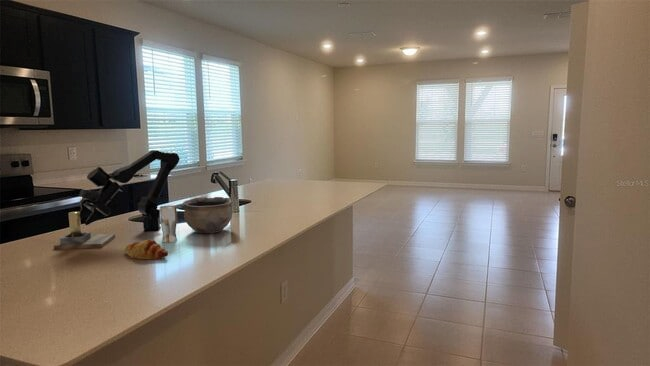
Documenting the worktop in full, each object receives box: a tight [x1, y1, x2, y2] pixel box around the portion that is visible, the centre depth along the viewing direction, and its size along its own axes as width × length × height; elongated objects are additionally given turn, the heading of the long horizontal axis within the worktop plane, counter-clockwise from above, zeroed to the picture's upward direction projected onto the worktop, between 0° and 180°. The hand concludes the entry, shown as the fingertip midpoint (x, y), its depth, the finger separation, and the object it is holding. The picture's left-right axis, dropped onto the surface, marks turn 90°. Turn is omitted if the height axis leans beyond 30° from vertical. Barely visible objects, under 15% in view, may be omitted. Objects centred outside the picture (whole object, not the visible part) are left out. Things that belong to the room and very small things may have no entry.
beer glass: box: [159, 205, 178, 244], centre depth 177 cm, size 7×7×15 cm
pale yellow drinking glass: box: [68, 211, 82, 237], centre depth 171 cm, size 4×4×12 cm
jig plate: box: [53, 231, 116, 250], centre depth 175 cm, size 18×16×4 cm
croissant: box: [124, 239, 169, 260], centre depth 157 cm, size 21×10×8 cm, turn 67°
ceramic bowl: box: [182, 196, 233, 234], centre depth 194 cm, size 22×22×15 cm
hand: (81, 222), depth 173 cm, fingers open, 9 cm apart
